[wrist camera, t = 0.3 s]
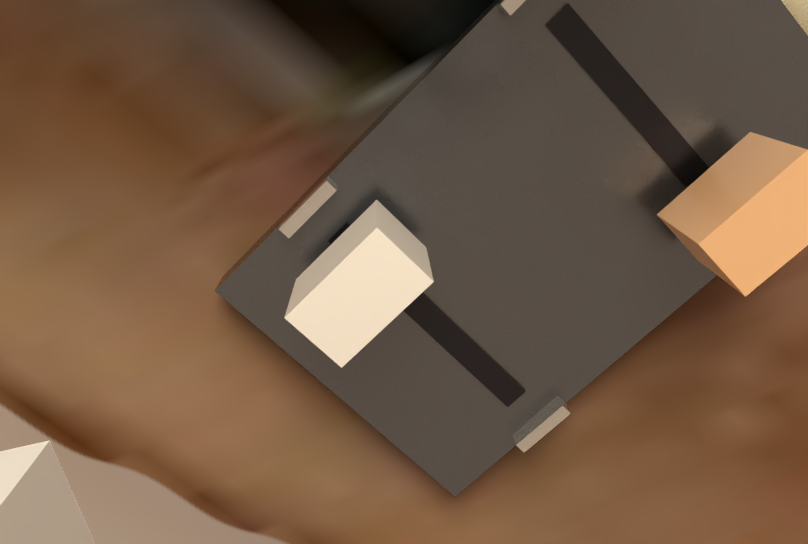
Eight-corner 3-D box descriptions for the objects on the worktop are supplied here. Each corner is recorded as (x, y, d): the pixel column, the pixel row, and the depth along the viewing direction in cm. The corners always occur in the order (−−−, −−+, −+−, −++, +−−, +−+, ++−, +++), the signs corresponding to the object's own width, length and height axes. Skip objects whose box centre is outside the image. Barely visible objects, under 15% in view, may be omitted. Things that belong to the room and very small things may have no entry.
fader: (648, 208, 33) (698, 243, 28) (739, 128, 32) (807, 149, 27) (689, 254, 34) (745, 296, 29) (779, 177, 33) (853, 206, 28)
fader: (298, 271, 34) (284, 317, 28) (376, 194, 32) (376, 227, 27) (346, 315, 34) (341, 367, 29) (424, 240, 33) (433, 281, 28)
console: (223, 276, 36) (209, 298, 33) (641, -150, 31) (668, -166, 28) (451, 474, 40) (457, 509, 37) (855, 128, 35) (897, 138, 32)
